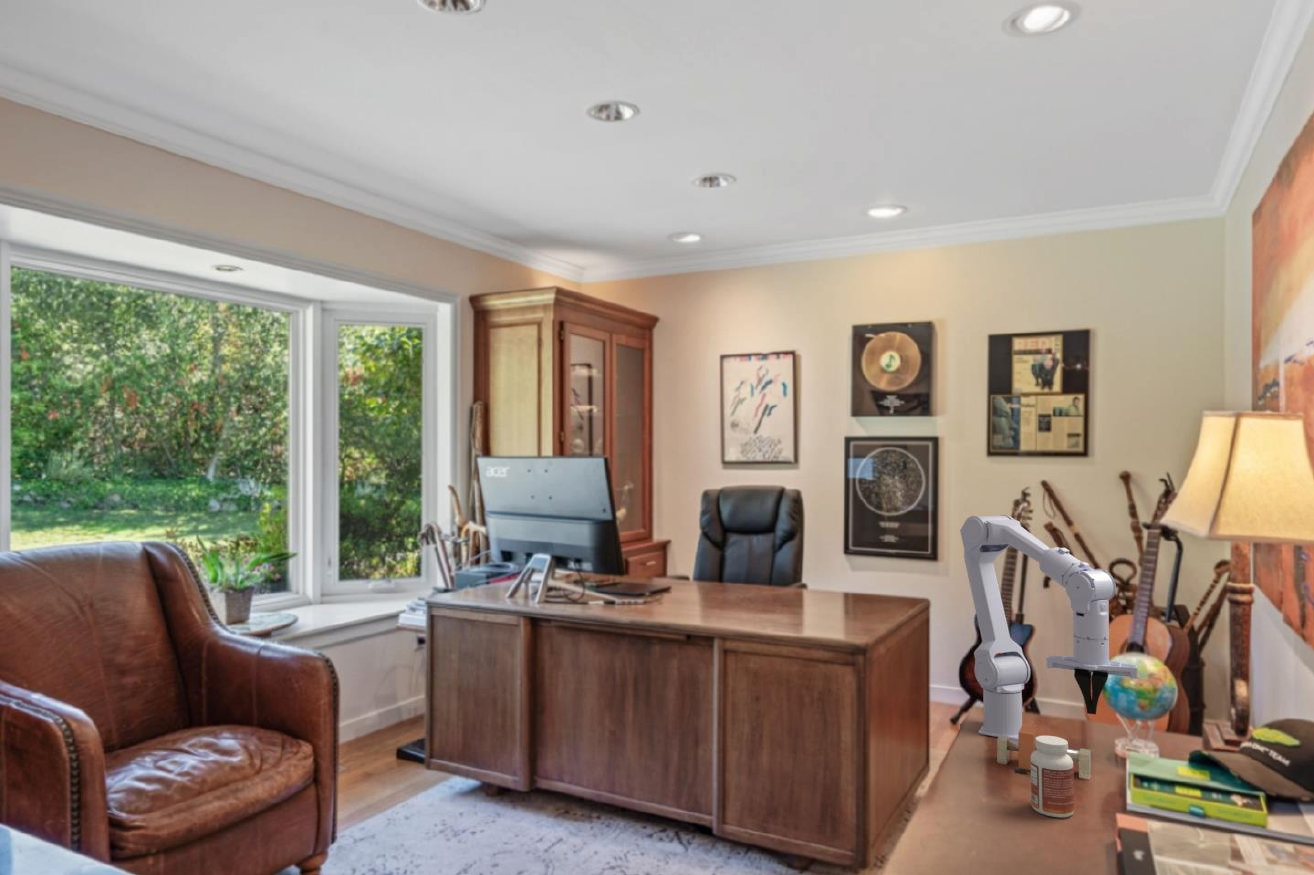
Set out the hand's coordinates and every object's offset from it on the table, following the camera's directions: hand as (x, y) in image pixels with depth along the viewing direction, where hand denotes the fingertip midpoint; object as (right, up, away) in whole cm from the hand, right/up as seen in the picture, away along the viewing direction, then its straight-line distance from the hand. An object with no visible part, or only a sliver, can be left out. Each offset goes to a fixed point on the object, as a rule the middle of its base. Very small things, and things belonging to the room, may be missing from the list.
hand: (1091, 712), depth 149 cm
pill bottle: (-16, -10, -19) cm, 26 cm away
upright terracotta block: (-11, -10, +1) cm, 15 cm away
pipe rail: (-9, -10, -1) cm, 13 cm away
